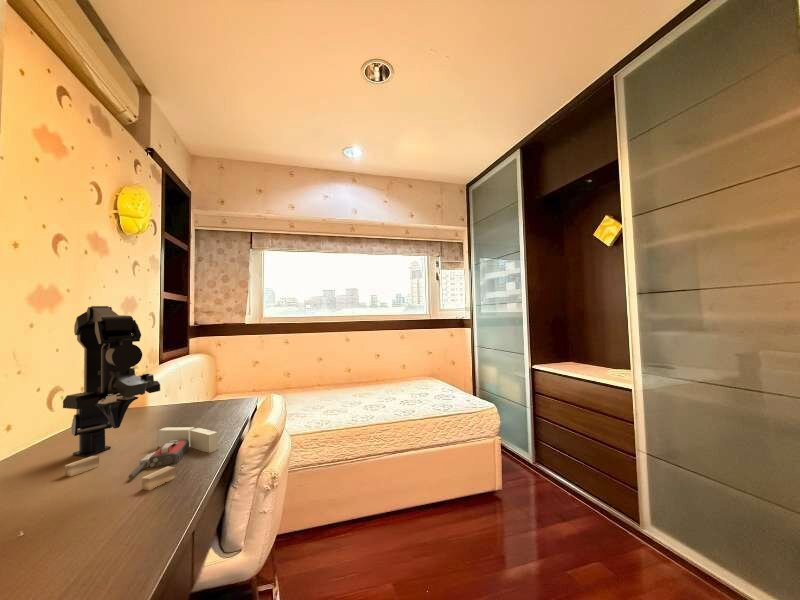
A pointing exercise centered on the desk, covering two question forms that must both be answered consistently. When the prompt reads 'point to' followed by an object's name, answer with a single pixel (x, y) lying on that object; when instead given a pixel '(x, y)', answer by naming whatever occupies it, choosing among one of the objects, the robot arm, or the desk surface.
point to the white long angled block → (190, 437)
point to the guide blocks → (147, 481)
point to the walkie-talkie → (164, 455)
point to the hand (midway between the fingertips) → (116, 427)
